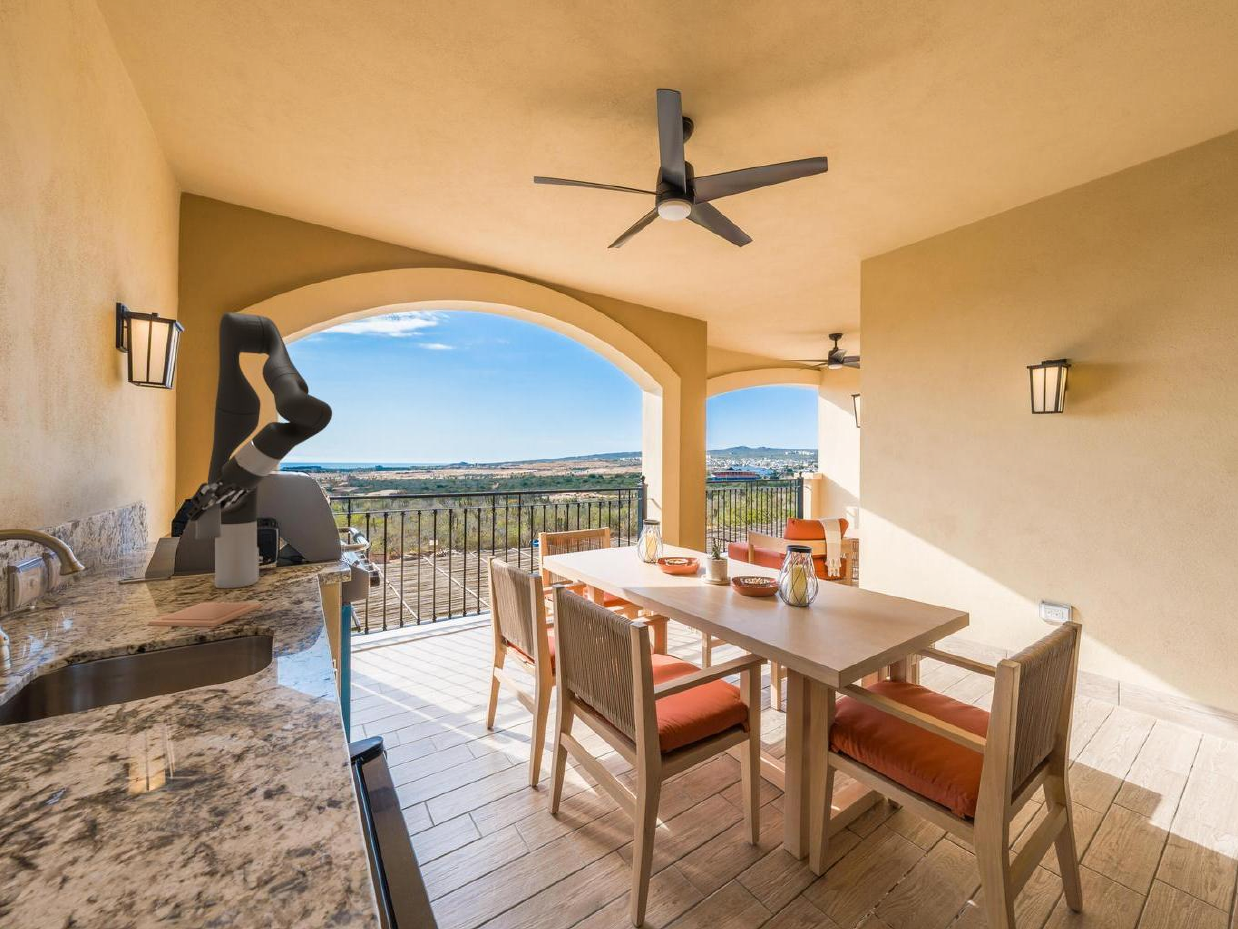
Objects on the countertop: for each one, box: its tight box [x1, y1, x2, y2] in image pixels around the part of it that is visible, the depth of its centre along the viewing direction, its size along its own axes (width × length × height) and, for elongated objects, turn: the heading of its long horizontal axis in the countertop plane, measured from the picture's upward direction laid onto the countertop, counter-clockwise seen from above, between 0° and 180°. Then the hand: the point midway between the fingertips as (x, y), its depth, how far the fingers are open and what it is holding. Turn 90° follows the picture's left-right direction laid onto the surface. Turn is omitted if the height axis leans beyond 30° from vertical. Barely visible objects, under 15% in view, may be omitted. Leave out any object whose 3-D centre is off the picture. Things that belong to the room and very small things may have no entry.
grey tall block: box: [195, 494, 222, 540], centre depth 115 cm, size 4×4×11 cm
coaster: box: [147, 601, 263, 627], centre depth 115 cm, size 14×14×1 cm
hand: (199, 516), depth 115 cm, fingers closed on grey tall block, 4 cm apart
